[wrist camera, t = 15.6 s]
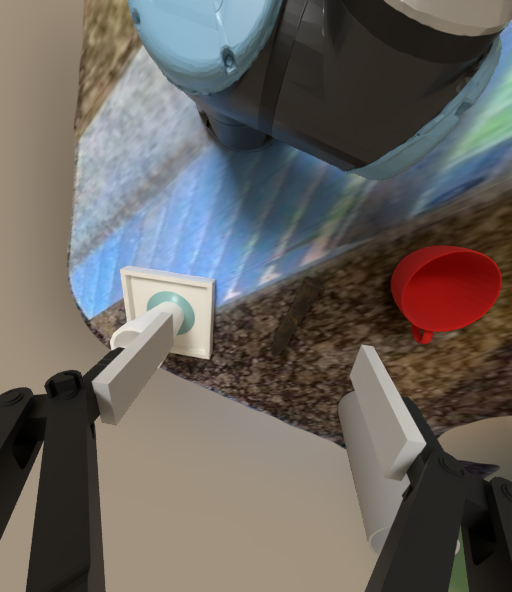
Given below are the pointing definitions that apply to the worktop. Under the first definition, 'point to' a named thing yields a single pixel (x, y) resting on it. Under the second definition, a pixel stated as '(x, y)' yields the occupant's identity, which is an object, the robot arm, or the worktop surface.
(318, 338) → the worktop surface
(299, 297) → the hand tool
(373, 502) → the cylinder vase
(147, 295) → the square white tray
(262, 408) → the worktop surface
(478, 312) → the ceramic cup
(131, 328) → the foam cup
